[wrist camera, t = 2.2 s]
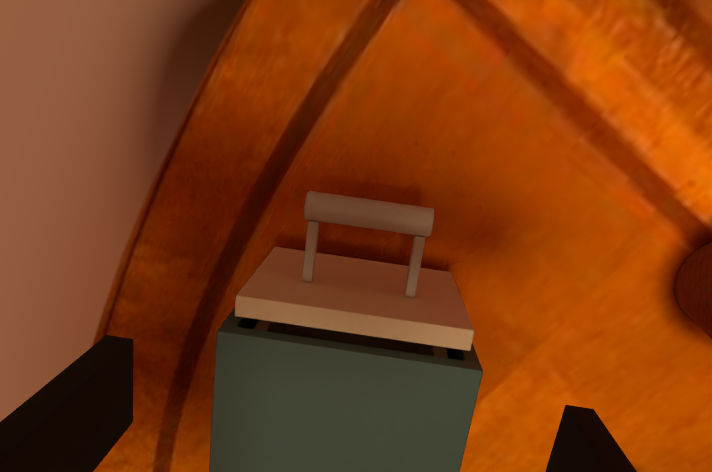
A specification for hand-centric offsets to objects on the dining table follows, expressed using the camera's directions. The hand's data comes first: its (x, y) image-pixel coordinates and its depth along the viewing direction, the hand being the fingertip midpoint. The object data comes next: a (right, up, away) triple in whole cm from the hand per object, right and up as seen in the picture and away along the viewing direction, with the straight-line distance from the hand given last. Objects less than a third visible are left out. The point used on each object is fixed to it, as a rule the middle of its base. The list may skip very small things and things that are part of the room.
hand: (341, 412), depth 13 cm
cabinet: (0, -6, +23) cm, 23 cm away
